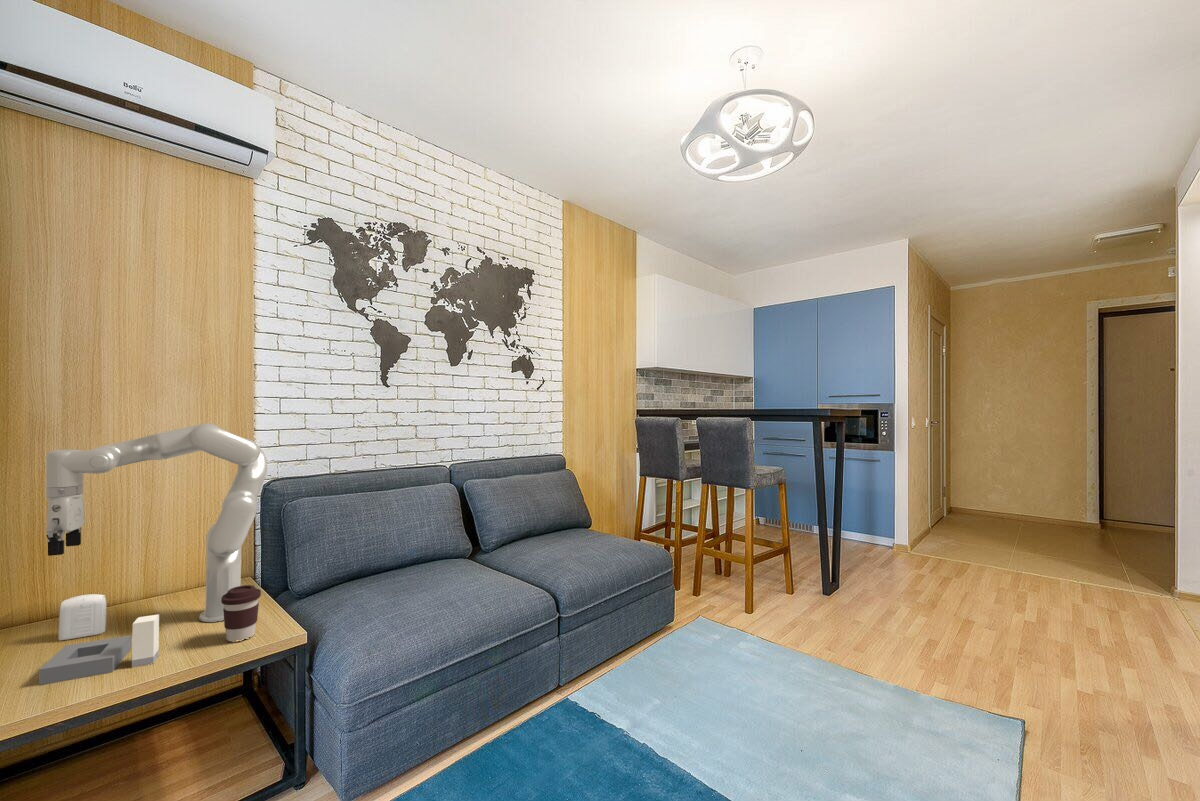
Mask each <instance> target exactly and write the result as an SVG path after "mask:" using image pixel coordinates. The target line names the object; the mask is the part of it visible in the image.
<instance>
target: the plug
mask: <svg viewBox="0 0 1200 801" xmlns="http://www.w3.org/2000/svg"><path fill="white" fill-rule="evenodd" d="M159 633H160V614H152V615H145V616H144V615H143V616H138V617H137V618H136V619H135V621H134V622H133V623H132V632H131V634H132V639H131V652H132V653H131V668H132V667H133V668H138V666H139V667H142V666H141V665H144V666H148V665H147V664H150V665H152V664H151V663H154V664H155V662H156V661H157V659H158V658H159V654H160V653H159V647H160V646H159V644H160V643H159V641H160V637H159V636H160V634H159ZM157 657H158V658H157ZM155 660H156V661H155Z"/></svg>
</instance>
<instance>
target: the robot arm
mask: <svg viewBox="0 0 1200 801" xmlns="http://www.w3.org/2000/svg"><path fill="white" fill-rule="evenodd" d="M200 451H201V452H204V453H207V454H209V455H212V456H213V457H217V458H218V459H222V460H225V461H227V462H229V463H232V464H235V465H237V471H236V475H235V476H234V479H233V482H232V483H231V486H230V488H229V490H228V492H227V493H226V496H225V498H224V499H223V501H222V503H221V511H220V513H219V516H218V518H217V520H216V522H215V523H214V524H213V525H211V526H210V528H209V529H208V531H207V533H206V537H205V539H206V540H205V541H206V556H205V558H206V563H205V569H206V570H205V610H204V611H203V612H201V613H200V614H199V615H198V616H199V620H200V621H201V622H204V623H216V622H217V621H218V622H224V621H223V620H224V612H223V609H224V604H222V602H221V598H222V596H223V595H225V594H226V593H227V592H228V591H229V590H230V589H232V588H234V587H238V586H242V578H241V577H242V574H241V573H242V546H243V544H244V542H245V540H246V537H247V535H248V533H249V531H250V528H251V527H252V524H253V522H254V520H255V518H256V515H257V511H258V502H257V499H258V496H259V494H260V491H261V490H262V487H263V483H264V482H265V478H266V475H267V473H268V461H267V456H266V454H265V453H264V450H263V449H262V448H261V447H260V445H258V443H256V442H255V441H254V440H252V439H250V438H246V437H245V438H244V437H242V436H239V435H237V434H234V433H232V432H229V431H227V430H225V429H223V428H221V427H219V426H218V425H217V424H214V423H201V424H196V425H192V426H187V427H182V428H178V429H173V430H169V431H164V432H163V431H162V432H157V433H154V434H151V435H146V436H143V437H139V438H134V439H129V440H124V441H121V442H120V441H119V442H116V443H111V444H107V445H106V444H105V445H101V446H98V447H95V448H93V449H87V450H86V449H85V450H81V449H74V448H72V449H69V448H68V449H65V448H64V449H56V450H50V451H48V452H47V453H46V455H45V499H46V500H48V501H47V502H48V504H47V510H46V513H47V514H46V529H45V532H46V538H47V539H46V542H47V556H48V557H49V556H50V557H51V556H52V557H53V556H60V555H64V554H65V547H75V546H80V545H81V544H82V527H83V526H84V525H85V523H86V521H85V519H86V518H85V517H86V516H85V504H84V499H83V498H84V497H83V496H84V474H105V473H108V472H110V471H112V470H113V469H114V468H115V469H116V468H118V467H122V466H123V467H124V466H126V465H131V464H136V463H140V462H147V461H161V460H167V459H168V460H169V459H172V458H176V457H180V456H185V455H187V454H191V453H192V454H193V453H196V452H200ZM64 536H65V540H64V539H63V538H64ZM218 622H217V623H218Z"/></svg>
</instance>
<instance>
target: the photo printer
mask: <svg viewBox="0 0 1200 801" xmlns="http://www.w3.org/2000/svg"><path fill="white" fill-rule="evenodd" d="M58 616H59V617H58V618H59V619H58V641H65V640H66V641H67V640H71V639H72V640H73V639H79V638H83V637H84V638H85V637H90V636H91V637H92V636H96V635H101V633H102V634H104V633H105V632H106V625H107V624H106V623H107V598H106V595H105V594H98V593H97V594H96V593H94V594H93V593H92V594H90V593H89V594H82V595H77V596H73V597H70V598H67V599H64V600H63V601H61V604H60V606H59V615H58ZM103 632H104V633H103Z"/></svg>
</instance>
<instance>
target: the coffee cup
mask: <svg viewBox="0 0 1200 801" xmlns="http://www.w3.org/2000/svg"><path fill="white" fill-rule="evenodd" d="M261 596H262V590H261V589H260V588H257V587H256V586H255V585H253V584H246V585H241V586H238V587H234V588H232V589H230V590H229V591H228V592H227V593H226V594H225V595H223V596H222V598H221V602H222V604H224V609H223V612H224V621H223V623H224V624H223V626H224V629H225V639H226V641H227V640H228V641H236V640H242V639H246V638H248V637H251V636H253V635H254V634H255V635H256V628H257V622H258V613H259V606H260V605H259V599H260V597H261ZM255 635H254V636H255ZM254 636H253V637H254ZM251 638H252V637H251ZM228 641H227V642H228Z"/></svg>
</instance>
